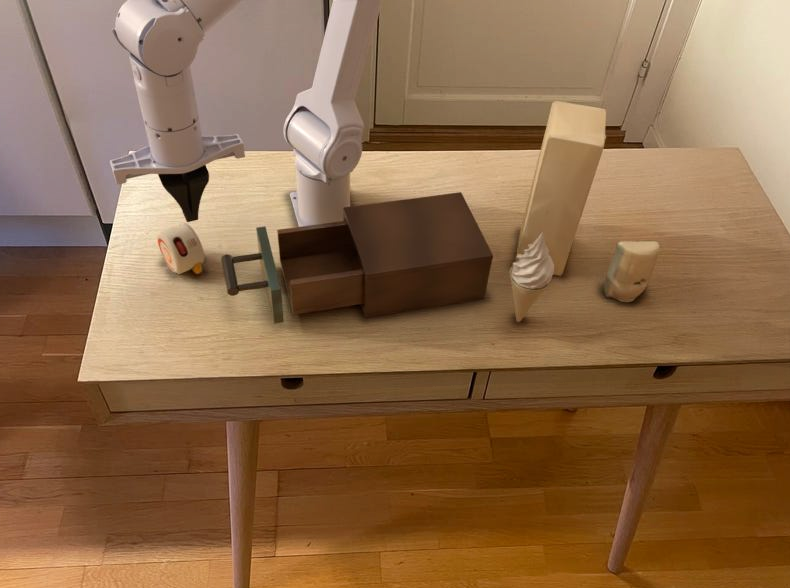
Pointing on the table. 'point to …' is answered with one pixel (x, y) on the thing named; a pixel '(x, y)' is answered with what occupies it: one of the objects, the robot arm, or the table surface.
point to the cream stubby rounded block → (630, 269)
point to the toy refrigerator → (563, 178)
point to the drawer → (305, 269)
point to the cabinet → (419, 253)
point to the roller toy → (181, 249)
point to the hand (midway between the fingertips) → (190, 216)
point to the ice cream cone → (530, 276)
